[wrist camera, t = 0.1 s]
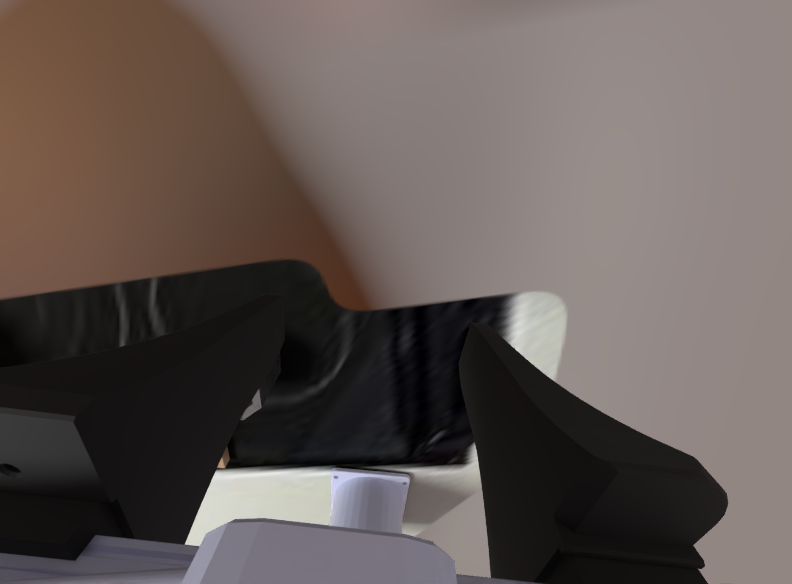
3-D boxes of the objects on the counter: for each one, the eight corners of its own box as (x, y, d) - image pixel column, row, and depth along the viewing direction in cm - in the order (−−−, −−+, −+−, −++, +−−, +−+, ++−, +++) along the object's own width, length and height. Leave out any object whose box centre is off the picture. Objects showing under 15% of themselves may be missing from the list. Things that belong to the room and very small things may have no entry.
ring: (282, 383, 26) (263, 422, 23) (222, 377, 26) (193, 415, 23) (278, 334, 24) (256, 367, 21) (212, 327, 24) (178, 360, 20)
